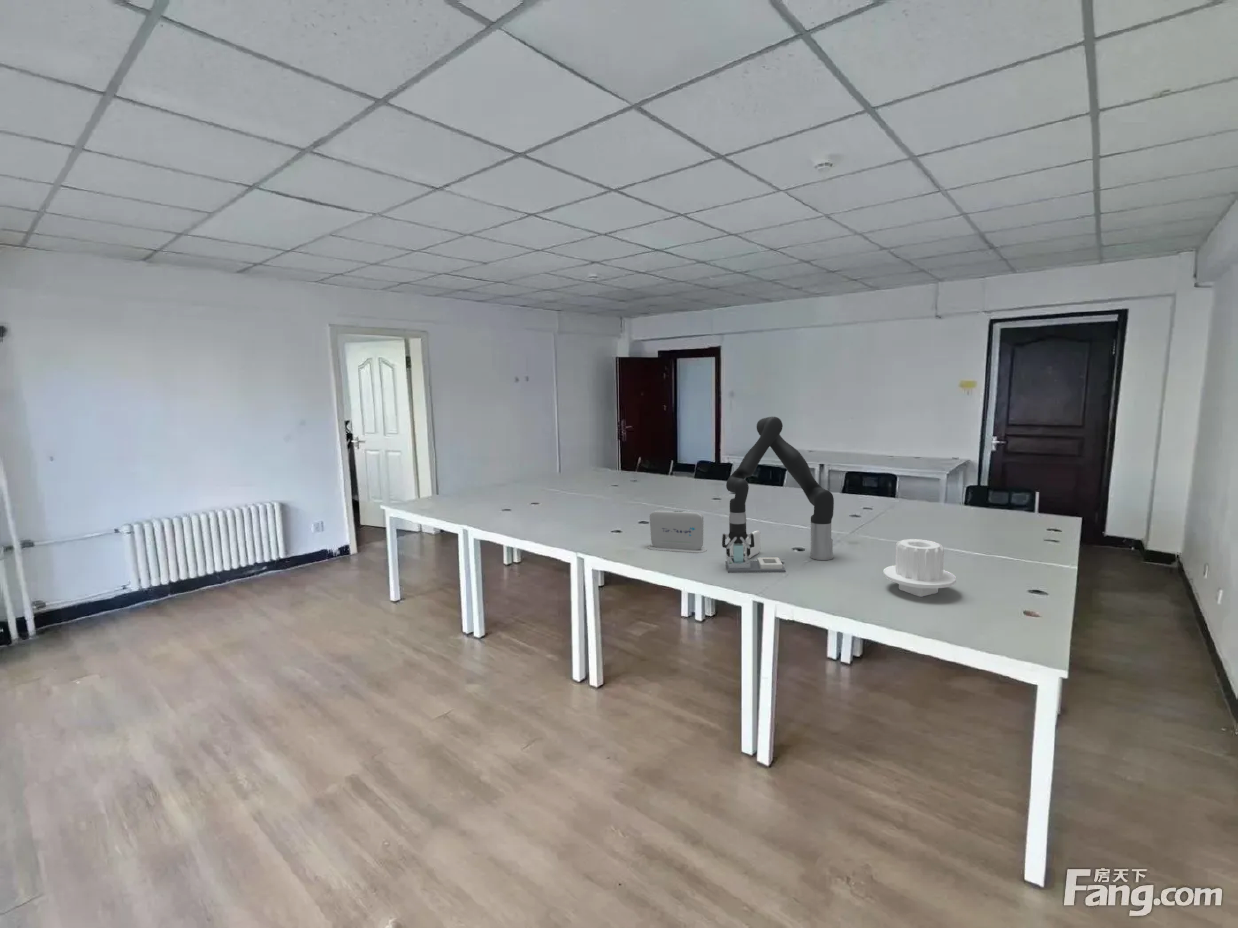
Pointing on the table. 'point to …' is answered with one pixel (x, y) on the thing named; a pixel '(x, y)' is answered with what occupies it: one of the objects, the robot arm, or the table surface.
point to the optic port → (738, 563)
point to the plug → (737, 552)
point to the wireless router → (677, 531)
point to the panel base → (754, 568)
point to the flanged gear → (919, 567)
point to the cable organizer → (754, 549)
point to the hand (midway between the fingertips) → (738, 556)
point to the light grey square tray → (769, 563)
